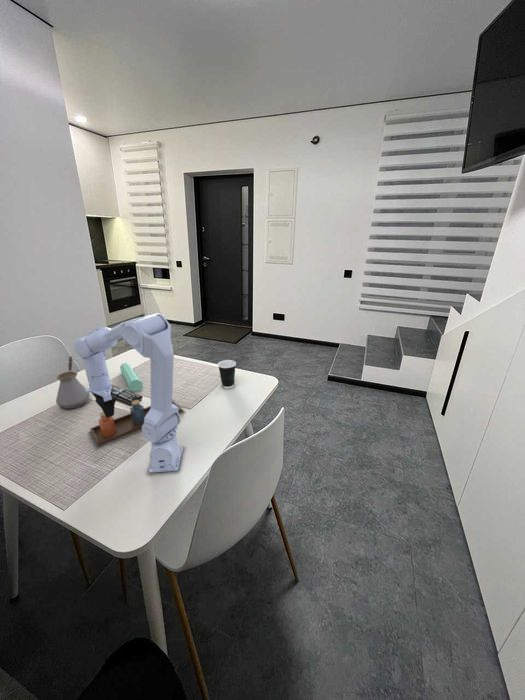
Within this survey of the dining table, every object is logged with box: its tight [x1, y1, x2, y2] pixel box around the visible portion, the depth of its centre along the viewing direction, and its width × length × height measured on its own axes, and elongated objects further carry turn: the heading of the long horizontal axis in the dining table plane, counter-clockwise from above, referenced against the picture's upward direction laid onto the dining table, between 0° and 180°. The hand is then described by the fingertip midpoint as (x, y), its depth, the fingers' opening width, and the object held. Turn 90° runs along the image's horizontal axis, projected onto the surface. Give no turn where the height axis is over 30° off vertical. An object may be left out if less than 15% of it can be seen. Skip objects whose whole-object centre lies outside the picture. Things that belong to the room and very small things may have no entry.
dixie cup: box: [217, 359, 237, 389], centre depth 126 cm, size 8×8×11 cm
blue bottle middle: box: [129, 399, 145, 425], centre depth 102 cm, size 4×4×8 cm
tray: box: [89, 399, 184, 447], centre depth 103 cm, size 29×10×2 cm, turn 131°
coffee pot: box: [55, 356, 91, 410], centre depth 116 cm, size 21×12×15 cm, turn 25°
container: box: [119, 362, 144, 393], centre depth 132 cm, size 6×6×25 cm
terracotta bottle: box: [97, 411, 116, 437], centre depth 96 cm, size 4×4×8 cm
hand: (106, 411), depth 92 cm, fingers open, 7 cm apart
